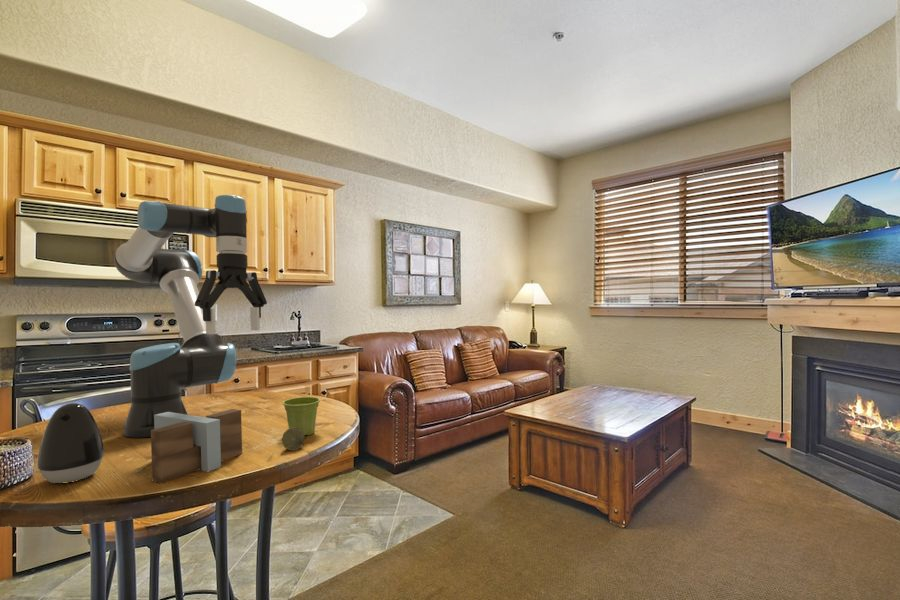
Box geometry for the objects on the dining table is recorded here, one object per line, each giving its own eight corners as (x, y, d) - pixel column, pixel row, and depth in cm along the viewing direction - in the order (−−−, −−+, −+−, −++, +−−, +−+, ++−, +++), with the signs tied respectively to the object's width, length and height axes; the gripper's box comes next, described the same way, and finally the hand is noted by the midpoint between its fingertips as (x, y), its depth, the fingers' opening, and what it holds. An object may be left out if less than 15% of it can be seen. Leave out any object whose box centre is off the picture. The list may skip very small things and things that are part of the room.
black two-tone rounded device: (27, 494, 83) (25, 412, 83) (50, 474, 92) (49, 401, 92) (95, 483, 87) (93, 405, 87) (111, 466, 96) (109, 395, 96)
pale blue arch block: (155, 459, 99) (154, 414, 99) (168, 455, 102) (167, 411, 102) (207, 471, 91) (206, 423, 91) (221, 466, 94) (219, 419, 94)
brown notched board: (152, 481, 87) (150, 430, 87) (233, 451, 103) (232, 408, 103) (161, 483, 86) (159, 431, 86) (242, 453, 102) (241, 410, 102)
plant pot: (326, 428, 121) (325, 396, 121) (312, 439, 111) (311, 404, 111) (293, 428, 122) (292, 396, 122) (276, 439, 112) (275, 404, 112)
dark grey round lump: (307, 446, 106) (306, 425, 106) (294, 453, 101) (293, 431, 101) (291, 445, 107) (290, 424, 107) (278, 451, 103) (277, 430, 103)
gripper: (196, 248, 108) (198, 336, 108) (278, 256, 130) (280, 328, 130) (177, 250, 111) (179, 335, 111) (260, 257, 133) (262, 328, 133)
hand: (234, 332), depth 121 cm, fingers open, 13 cm apart
